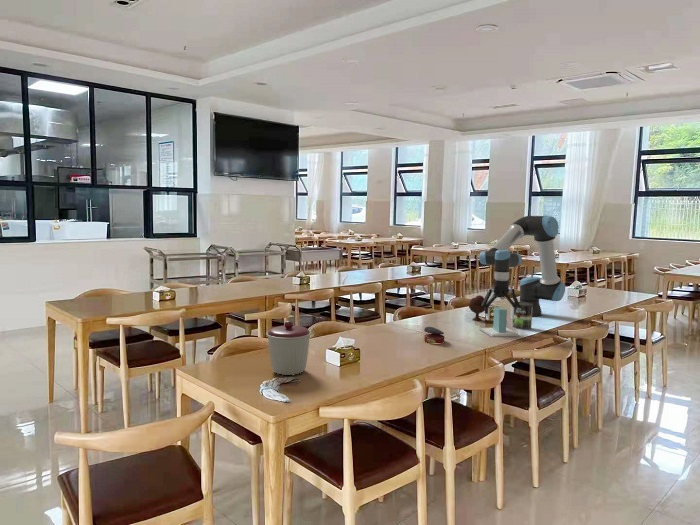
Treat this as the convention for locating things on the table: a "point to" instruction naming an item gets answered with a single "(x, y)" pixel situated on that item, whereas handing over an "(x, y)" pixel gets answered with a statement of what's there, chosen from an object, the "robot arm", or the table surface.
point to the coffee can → (523, 316)
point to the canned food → (433, 335)
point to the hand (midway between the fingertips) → (499, 319)
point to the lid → (499, 324)
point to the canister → (288, 348)
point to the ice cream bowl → (476, 306)
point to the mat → (499, 336)
